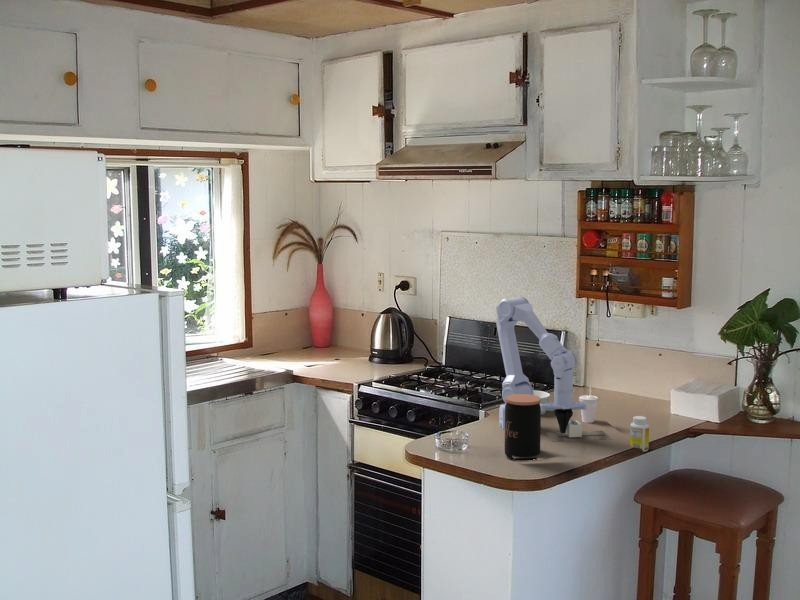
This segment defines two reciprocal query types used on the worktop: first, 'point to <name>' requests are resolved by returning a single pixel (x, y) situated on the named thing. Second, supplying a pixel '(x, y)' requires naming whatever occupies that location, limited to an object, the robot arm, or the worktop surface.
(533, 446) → the coffee jar
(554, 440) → the fader board
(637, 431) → the supplement bottle
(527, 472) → the worktop surface
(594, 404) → the smoothie
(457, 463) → the worktop surface
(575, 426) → the fader knob
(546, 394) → the food container
